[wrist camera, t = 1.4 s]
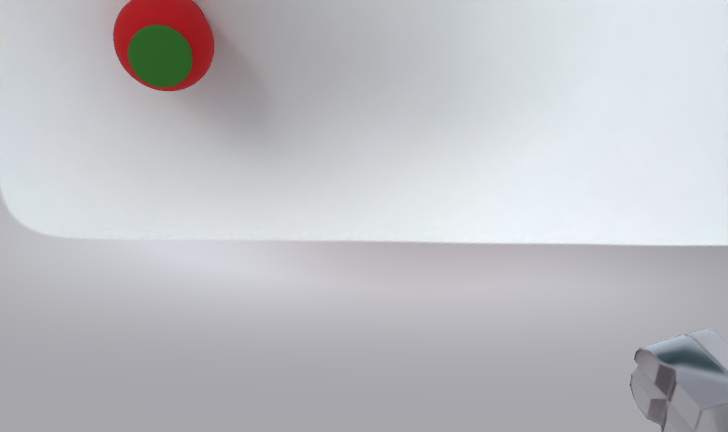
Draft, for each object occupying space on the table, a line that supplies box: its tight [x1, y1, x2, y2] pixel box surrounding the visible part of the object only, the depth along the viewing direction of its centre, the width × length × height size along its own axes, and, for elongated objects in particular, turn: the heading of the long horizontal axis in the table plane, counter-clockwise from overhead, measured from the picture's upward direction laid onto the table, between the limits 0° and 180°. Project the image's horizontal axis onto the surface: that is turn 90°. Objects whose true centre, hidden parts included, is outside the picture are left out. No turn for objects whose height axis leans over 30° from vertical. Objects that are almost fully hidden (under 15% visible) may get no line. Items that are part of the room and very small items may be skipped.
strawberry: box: [113, 0, 214, 91], centre depth 25 cm, size 4×4×5 cm
